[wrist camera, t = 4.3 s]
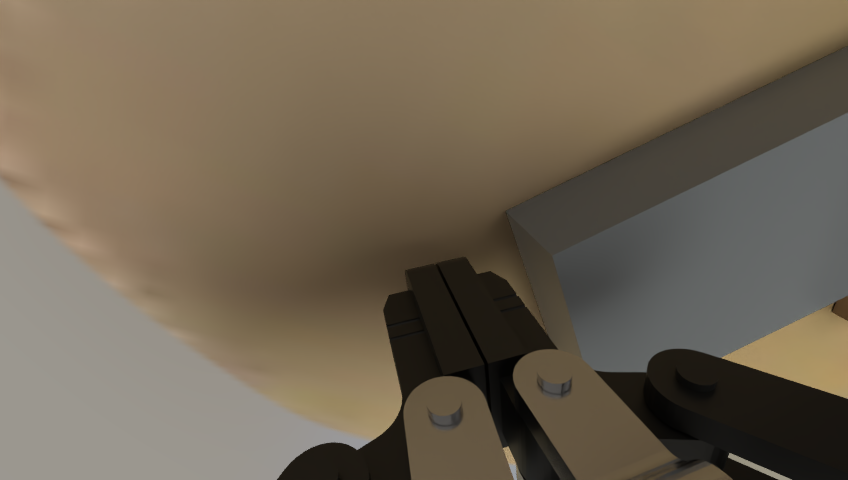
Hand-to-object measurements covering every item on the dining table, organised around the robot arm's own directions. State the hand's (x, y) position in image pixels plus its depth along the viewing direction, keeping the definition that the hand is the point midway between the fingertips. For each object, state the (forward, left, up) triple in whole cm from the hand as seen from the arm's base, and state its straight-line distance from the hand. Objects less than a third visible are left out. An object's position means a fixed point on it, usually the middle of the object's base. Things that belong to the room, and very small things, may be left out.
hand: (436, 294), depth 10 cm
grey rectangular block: (0, +9, -2) cm, 9 cm away
